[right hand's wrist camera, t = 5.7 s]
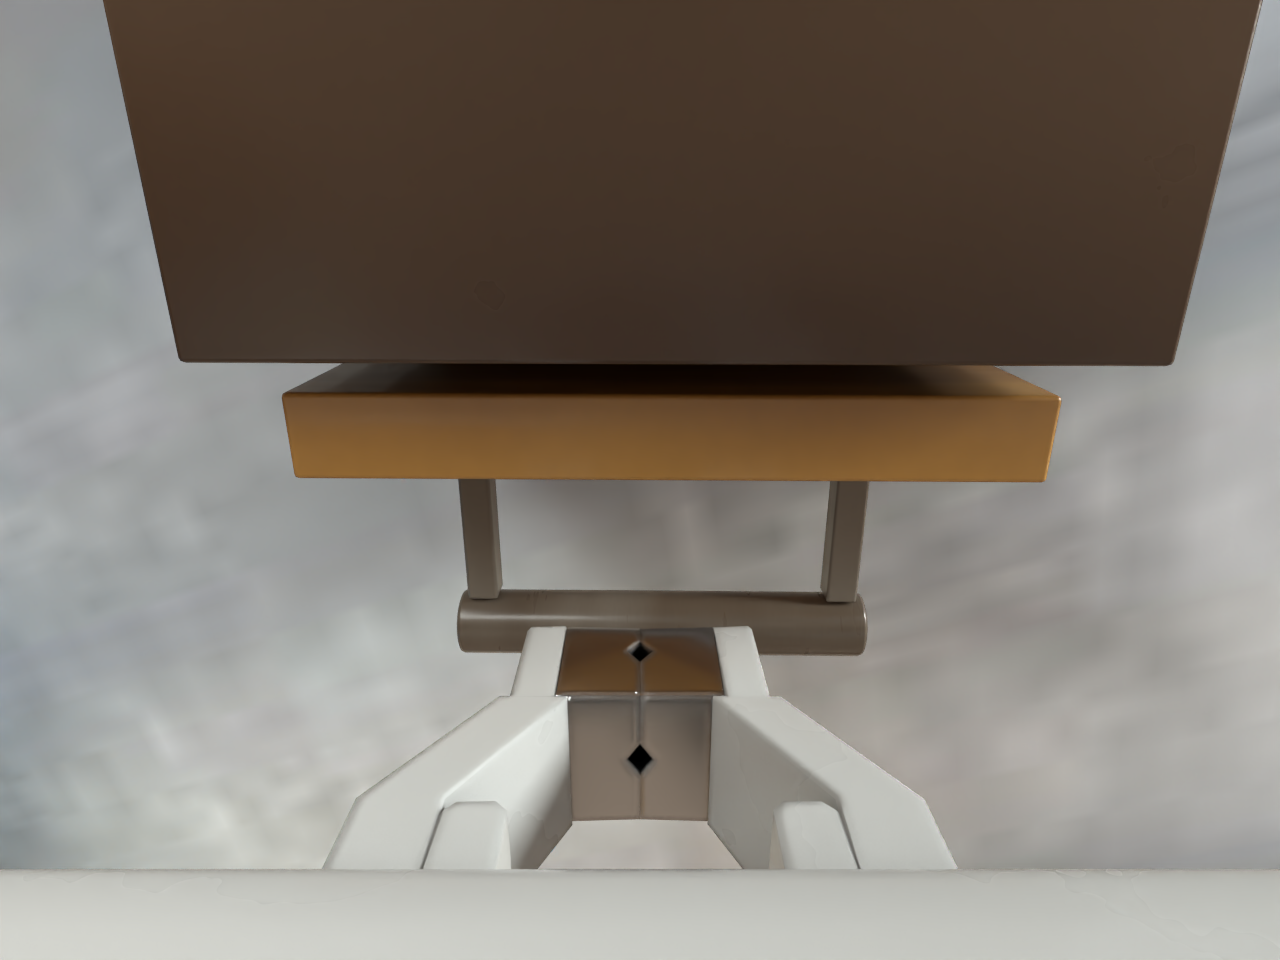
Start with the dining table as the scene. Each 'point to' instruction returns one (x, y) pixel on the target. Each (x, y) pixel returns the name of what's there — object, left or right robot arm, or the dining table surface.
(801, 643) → the drawer
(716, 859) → the dining table surface
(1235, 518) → the dining table surface
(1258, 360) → the dining table surface
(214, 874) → the right robot arm
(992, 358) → the cabinet
